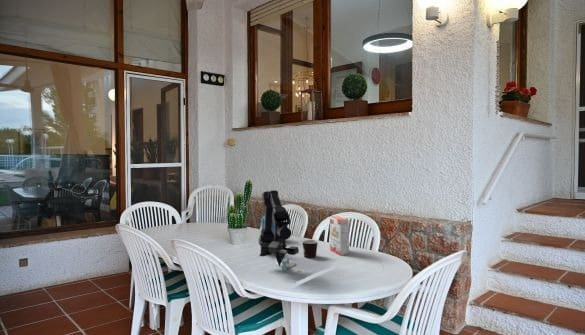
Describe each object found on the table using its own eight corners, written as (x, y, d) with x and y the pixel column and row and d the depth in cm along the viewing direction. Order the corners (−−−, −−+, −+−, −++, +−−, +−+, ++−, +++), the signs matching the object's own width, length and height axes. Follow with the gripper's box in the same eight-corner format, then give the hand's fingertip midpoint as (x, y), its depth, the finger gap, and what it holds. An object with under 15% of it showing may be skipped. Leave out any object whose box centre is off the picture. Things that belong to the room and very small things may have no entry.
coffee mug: (316, 261, 209) (316, 243, 208) (301, 260, 211) (301, 243, 210) (319, 256, 220) (319, 239, 220) (304, 255, 222) (304, 238, 222)
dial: (277, 261, 204) (277, 254, 204) (295, 261, 204) (295, 254, 203) (274, 271, 188) (273, 263, 188) (294, 271, 188) (294, 263, 187)
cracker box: (329, 250, 234) (329, 216, 233) (338, 249, 236) (338, 215, 235) (340, 255, 221) (340, 220, 220) (349, 254, 223) (349, 219, 222)
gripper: (256, 235, 187) (255, 266, 188) (289, 240, 179) (289, 272, 180) (267, 231, 197) (266, 261, 198) (299, 235, 189) (298, 266, 190)
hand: (279, 265), depth 191 cm, fingers closed
